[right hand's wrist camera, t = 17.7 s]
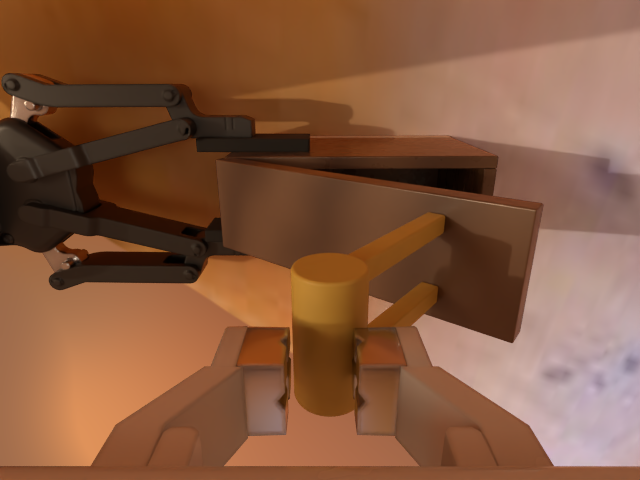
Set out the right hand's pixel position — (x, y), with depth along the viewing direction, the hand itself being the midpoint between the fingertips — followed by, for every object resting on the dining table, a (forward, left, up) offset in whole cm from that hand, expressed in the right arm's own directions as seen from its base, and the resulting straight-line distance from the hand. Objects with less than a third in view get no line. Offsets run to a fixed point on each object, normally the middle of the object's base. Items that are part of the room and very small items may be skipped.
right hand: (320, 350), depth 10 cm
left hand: (0, +1, -17) cm, 17 cm away
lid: (-1, -1, -9) cm, 9 cm away
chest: (-1, -2, -24) cm, 24 cm away
